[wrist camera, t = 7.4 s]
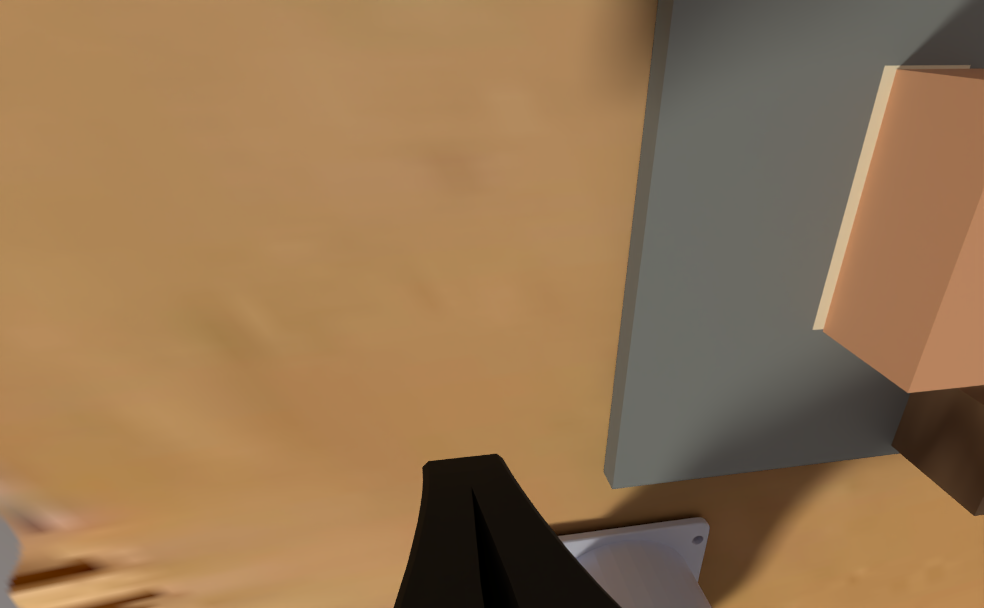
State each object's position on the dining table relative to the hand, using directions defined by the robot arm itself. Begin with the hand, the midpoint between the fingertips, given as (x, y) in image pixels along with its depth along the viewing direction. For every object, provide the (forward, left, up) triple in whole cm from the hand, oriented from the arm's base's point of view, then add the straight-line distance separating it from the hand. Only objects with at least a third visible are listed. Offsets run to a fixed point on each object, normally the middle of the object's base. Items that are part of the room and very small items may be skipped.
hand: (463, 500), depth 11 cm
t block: (+2, -19, -9) cm, 21 cm away
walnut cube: (-6, -21, -9) cm, 24 cm away
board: (0, -16, -10) cm, 18 cm away
